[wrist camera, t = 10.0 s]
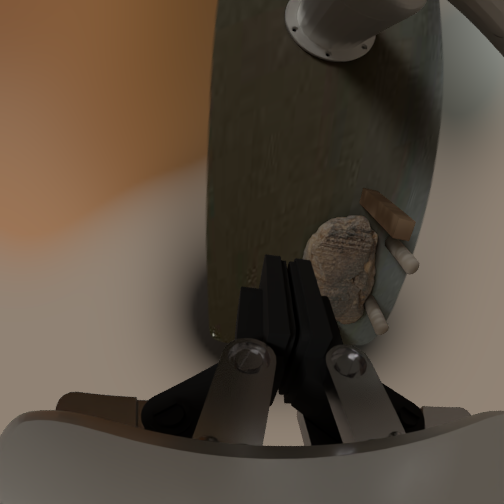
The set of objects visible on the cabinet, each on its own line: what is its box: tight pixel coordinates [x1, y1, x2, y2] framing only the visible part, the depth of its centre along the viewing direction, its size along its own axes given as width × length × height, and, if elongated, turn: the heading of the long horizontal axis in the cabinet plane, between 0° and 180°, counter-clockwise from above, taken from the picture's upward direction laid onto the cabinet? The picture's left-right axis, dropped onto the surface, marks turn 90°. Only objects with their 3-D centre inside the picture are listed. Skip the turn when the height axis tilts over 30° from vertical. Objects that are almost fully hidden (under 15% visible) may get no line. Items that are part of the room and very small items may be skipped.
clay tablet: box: [303, 215, 378, 324], centre depth 42 cm, size 14×5×20 cm
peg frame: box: [359, 188, 419, 335], centre depth 39 cm, size 27×9×12 cm, turn 172°
